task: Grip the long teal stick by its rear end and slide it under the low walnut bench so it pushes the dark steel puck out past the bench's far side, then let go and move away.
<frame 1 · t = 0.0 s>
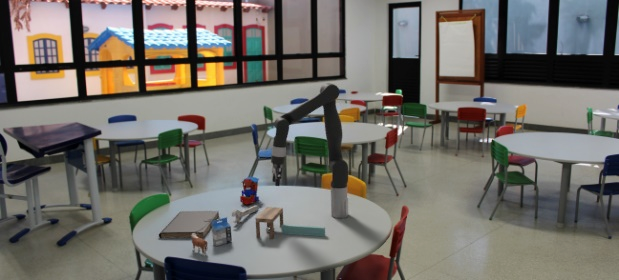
hand: (275, 183, 289), 22 cm above the table, tool pointing down, fingers open, 8 cm apart
long teal stick: (303, 234, 276), on the table
puck: (270, 232, 281), on the table
wrench: (245, 218, 304), on the table
bull figurine: (199, 252, 258), on the table
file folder: (190, 227, 292), on the table
label tape box: (222, 243, 268), on the table
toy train: (249, 202, 332), on the table
bench: (270, 231, 281), on the table
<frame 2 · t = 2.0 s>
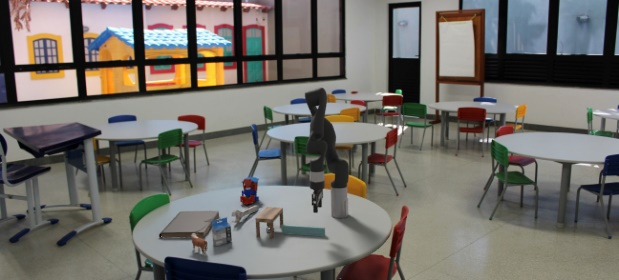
hand: (317, 209, 272), 14 cm above the table, tool pointing down, fingers open, 8 cm apart
nothing on the table moved.
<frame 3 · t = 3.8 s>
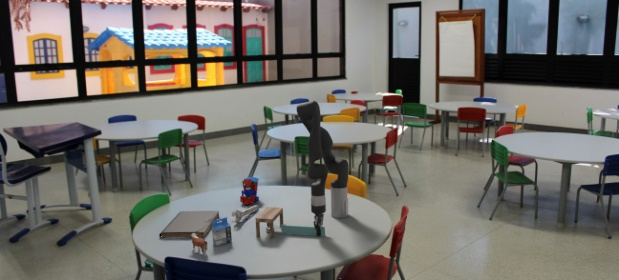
hand: (319, 235, 274), 0 cm above the table, tool pointing down, fingers closed
long teal stick: (303, 234, 276), on the table, touching gripper
everything else where it was.
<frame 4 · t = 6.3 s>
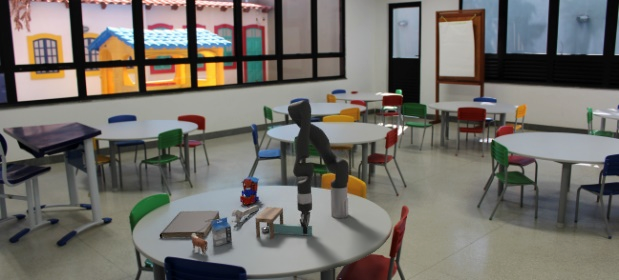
hand: (305, 232, 276), 1 cm above the table, tool pointing down, fingers closed
long teal stick: (290, 233, 278), on the table, touching gripper
puck: (265, 231, 281), on the table
everything else where it was.
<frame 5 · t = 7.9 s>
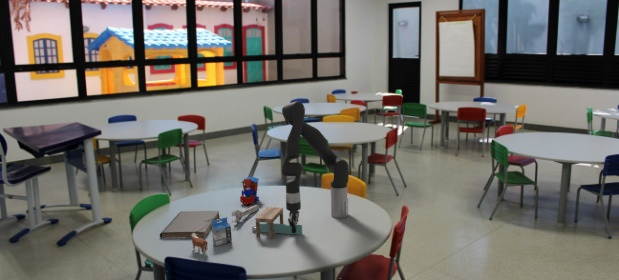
hand: (294, 232, 277), 1 cm above the table, tool pointing down, fingers closed
long teal stick: (280, 232, 279), on the table, touching gripper
puck: (256, 231, 283), on the table
everything else where it was.
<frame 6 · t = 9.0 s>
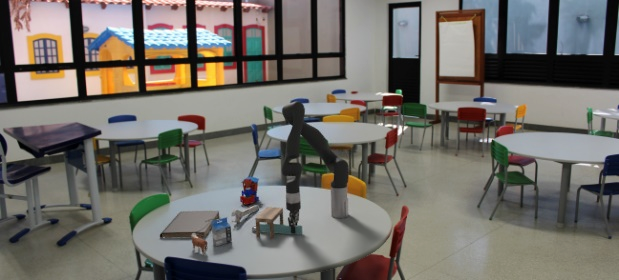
hand: (294, 231, 277), 1 cm above the table, tool pointing down, fingers open, 3 cm apart
long teal stick: (280, 233, 279), on the table
everything else where it was.
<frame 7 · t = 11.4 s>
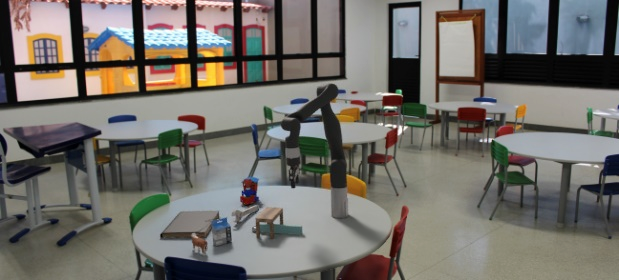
hand: (295, 185, 279), 24 cm above the table, tool pointing down, fingers open, 8 cm apart
nothing on the table moved.
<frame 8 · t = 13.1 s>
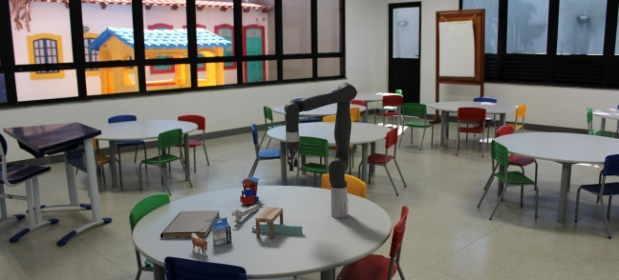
hand: (293, 169, 289), 30 cm above the table, tool pointing down, fingers open, 8 cm apart
nothing on the table moved.
at the end: puck inside the target area (5.9 cm from its centre), on the table; puck moved 7.9 cm from its start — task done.
